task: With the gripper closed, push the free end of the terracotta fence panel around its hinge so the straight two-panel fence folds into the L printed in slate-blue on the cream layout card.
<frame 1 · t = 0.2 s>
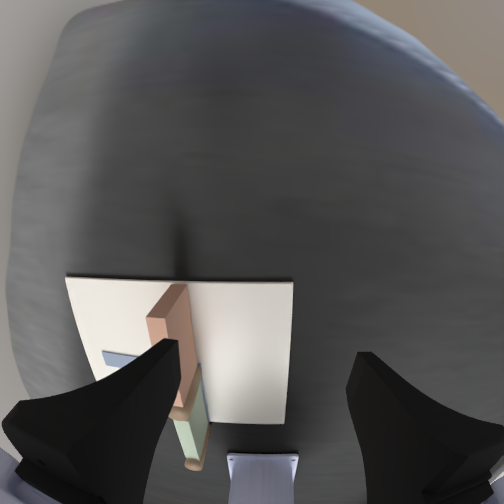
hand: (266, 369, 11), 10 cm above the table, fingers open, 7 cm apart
fence fixed: (192, 369, 22), resting on layout card
fence panel: (177, 355, 19), point 3 cm above the table, hinge at 0.0°
layout card: (175, 361, 23), on the table
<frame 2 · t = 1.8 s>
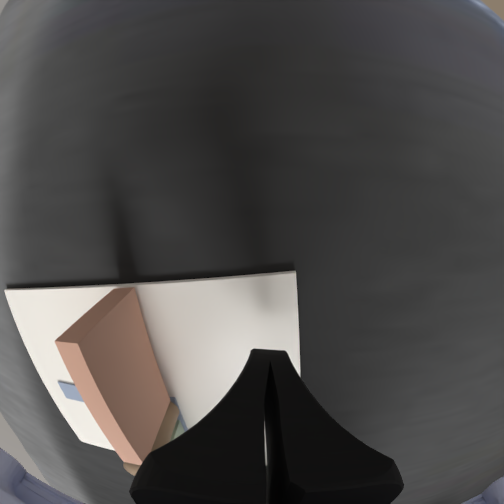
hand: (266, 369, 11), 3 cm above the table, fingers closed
fence panel: (130, 393, 11), point 3 cm above the table, hinge at 0.0°
layout card: (143, 394, 15), on the table
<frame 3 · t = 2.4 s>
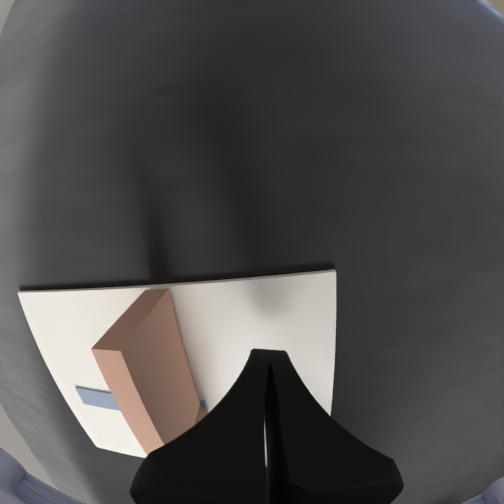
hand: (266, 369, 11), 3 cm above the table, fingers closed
fence panel: (164, 399, 11), point 3 cm above the table, hinge at 0.0°
layout card: (170, 398, 15), on the table
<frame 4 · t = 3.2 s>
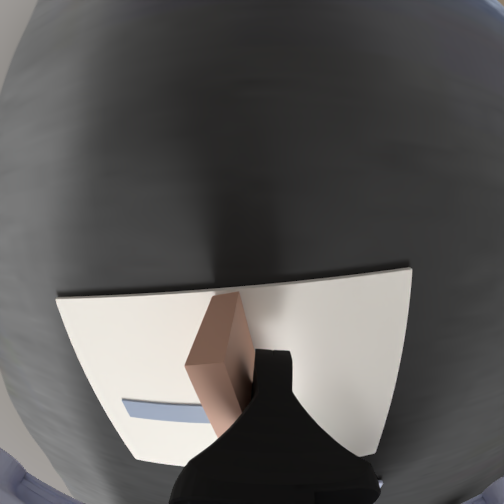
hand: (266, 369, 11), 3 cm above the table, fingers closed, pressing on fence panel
fence panel: (244, 406, 11), point 3 cm above the table, hinge at 5.6°, touching gripper
layout card: (235, 404, 15), on the table
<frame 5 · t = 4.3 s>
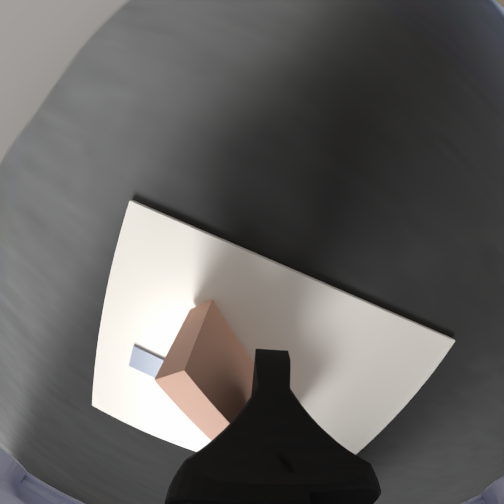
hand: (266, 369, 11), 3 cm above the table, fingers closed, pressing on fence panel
fence panel: (245, 408, 11), point 3 cm above the table, hinge at 51.6°, touching gripper
layout card: (257, 394, 15), on the table
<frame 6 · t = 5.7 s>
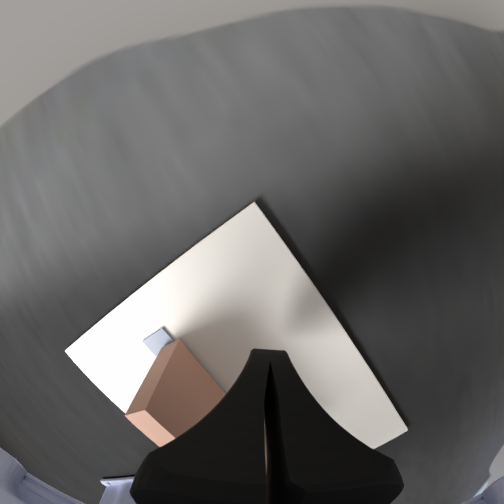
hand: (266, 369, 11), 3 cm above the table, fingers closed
fence panel: (214, 433, 12), point 3 cm above the table, hinge at 85.1°
layout card: (246, 411, 15), on the table
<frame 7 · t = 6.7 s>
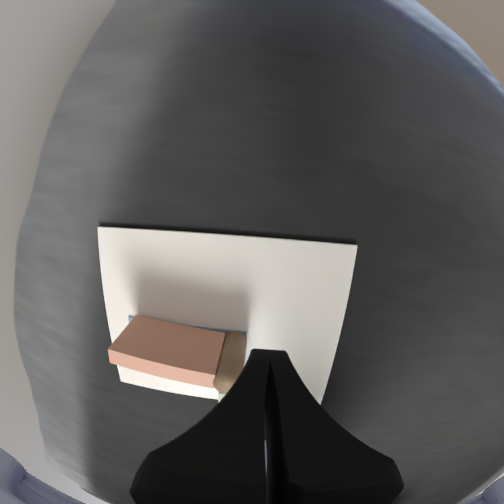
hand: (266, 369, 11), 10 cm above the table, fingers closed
fence panel: (181, 351, 19), point 3 cm above the table, hinge at 85.4°
layout card: (216, 329, 22), on the table
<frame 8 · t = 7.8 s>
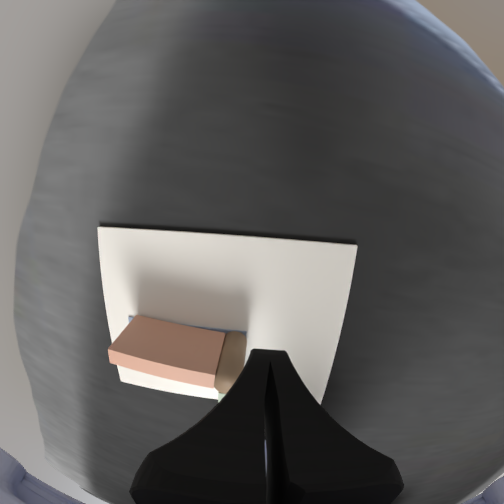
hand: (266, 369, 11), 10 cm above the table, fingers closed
fence panel: (181, 351, 19), point 3 cm above the table, hinge at 85.4°
layout card: (216, 329, 22), on the table
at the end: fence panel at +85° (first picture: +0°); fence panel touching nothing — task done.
